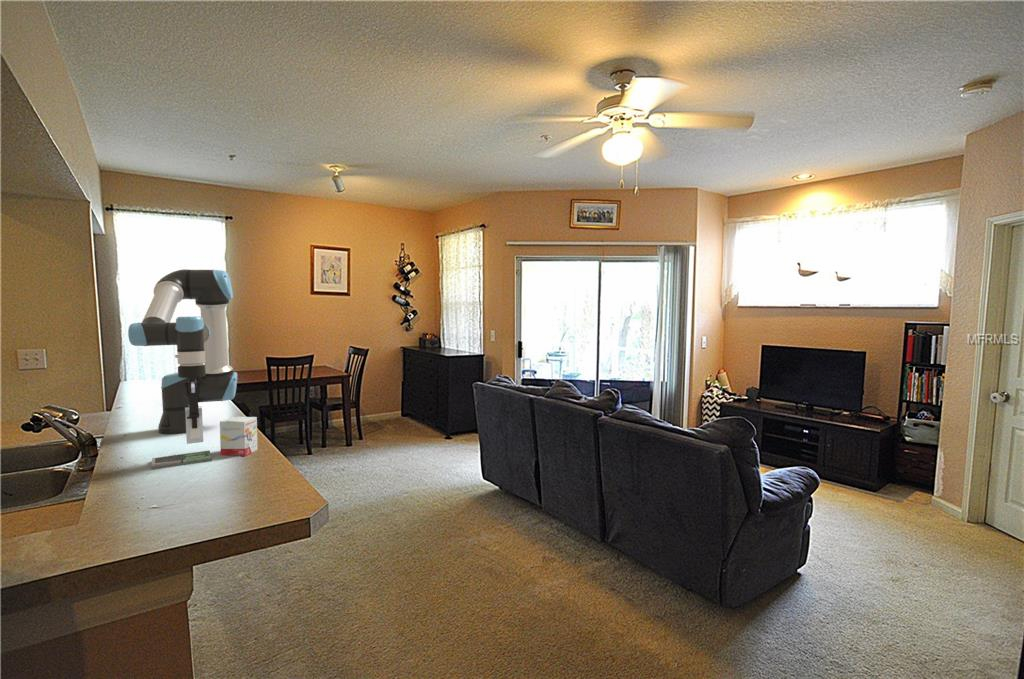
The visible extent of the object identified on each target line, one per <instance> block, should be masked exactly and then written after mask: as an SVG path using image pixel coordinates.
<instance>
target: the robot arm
mask: <svg viewBox="0 0 1024 679" xmlns="http://www.w3.org/2000/svg"><path fill="white" fill-rule="evenodd" d="M233 298H234V294H233V288H232V282H231V279H230V275H229V273H228V272H227V271H225V270H222V269H220V270H219V269H185V268H184V269H179V270H175V271H172V272H170V273H168V274H166V275H164V276H163V277H161V278H160V279H159V280H158V281H157V282H156V284H155V286H154V287H153V297H152V300H151V301H150V304H149V305H148V308H147V310H146V312H145V315H144V317H143V319H142V321H141V322H133V323H130V324H129V326H128V332H127V336H128V340H129V343H130V345H131V346H135V347H154V346H176V351H177V352H176V353H177V354H175V355H174V358H176V359H177V364H178V365H179V366H178V367H177V372H174V373H168V374H166V375H164V376H163V377H162V378H161V386H160V389H161V402H162V404H161V405H162V413H161V416H160V421H159V423H158V426H157V428H158V430H157V431H158V433H159V434H182V433H186V416H185V407H189V414H190V415H189V417H187V419H189V428H190V439H194V438H200V426H199V409H198V406H199V403H211V402H224V401H226V402H227V401H232V400H233V399H234V398H235V396H236V392H237V386H238V385H237V384H238V372H235V371H234V368H233V367H232V366H231V365H230V364H229V351H228V350H229V349H228V334H227V322H226V321H227V320H226V319H227V318H226V307H228V306H229V304H230V300H232V299H233ZM182 300H195V301H194V302H195V306H197V307H198V308H199V310H200V316H178V317H177V318H176V319H175V322H171V321H172V318H173V315H174V313H175V310H176V309H177V305H178V304H179V303H180V302H181V301H182Z"/></svg>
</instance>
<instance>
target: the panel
mask: <svg viewBox="0 0 1024 679" xmlns="http://www.w3.org/2000/svg"><path fill="white" fill-rule="evenodd" d="M208 462H213V459H212V455H211V451H210V450H202V451H196V452H188V453H187V452H186V453H181V454H179V453H178V454H173V455H166V456H158V457H152V459H151V466H150V471H155V470H161V469H167V468H168V469H169V468H174V467H182V466H188V465H194V464H203V463H208Z"/></svg>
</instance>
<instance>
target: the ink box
mask: <svg viewBox="0 0 1024 679" xmlns="http://www.w3.org/2000/svg"><path fill="white" fill-rule="evenodd" d="M257 418H258V417H257V416H232V417H229V418H226V419H224V420H220V421H219V436H220V437H219V438H220V439H219V441H220V456H240V457H246V456H248V455H250V454H252V453H255V452H256V451H258V419H257Z"/></svg>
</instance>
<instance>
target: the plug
mask: <svg viewBox="0 0 1024 679" xmlns="http://www.w3.org/2000/svg"><path fill="white" fill-rule="evenodd" d="M198 409H199V426H200V438H194V439H190V428H189V419H187V417H189V415H190V414H189V407H185V416H186V432H185V434H186V436H185V437H186V438H185V439H186V445H190V444H191V445H192V444H196V443H197V444H199V443H204V428H203V427H204V425H203V424H204V423H203V407H202V406H201V405H198Z"/></svg>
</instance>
